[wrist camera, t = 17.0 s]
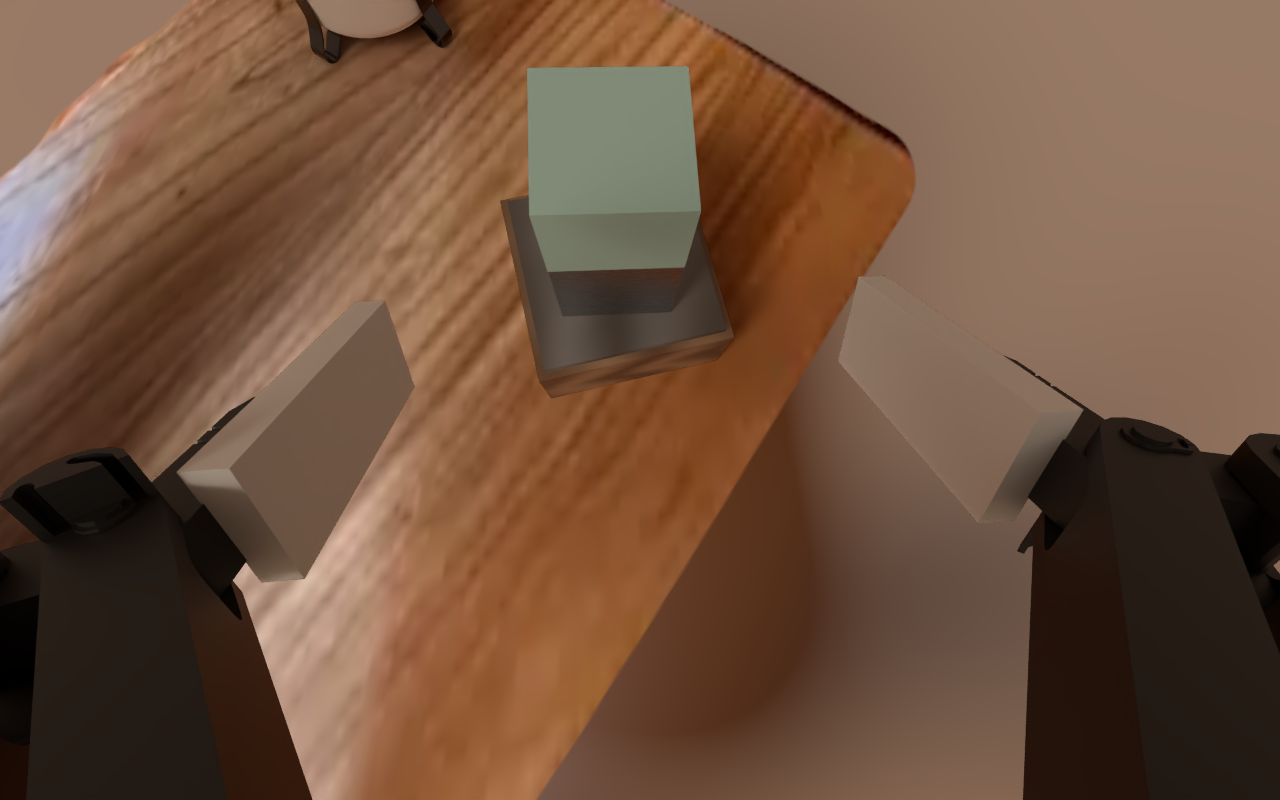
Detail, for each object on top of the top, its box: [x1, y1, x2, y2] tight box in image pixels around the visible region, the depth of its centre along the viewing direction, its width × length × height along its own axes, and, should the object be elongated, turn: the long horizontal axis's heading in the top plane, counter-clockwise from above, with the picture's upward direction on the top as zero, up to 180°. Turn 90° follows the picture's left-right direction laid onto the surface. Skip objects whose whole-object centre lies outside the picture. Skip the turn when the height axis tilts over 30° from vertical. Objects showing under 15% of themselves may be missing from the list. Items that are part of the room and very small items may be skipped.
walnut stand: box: [500, 195, 734, 398], centre depth 34 cm, size 13×13×6 cm
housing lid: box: [527, 66, 701, 272], centre depth 23 cm, size 7×9×5 cm
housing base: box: [548, 267, 684, 317], centre depth 28 cm, size 7×7×6 cm
